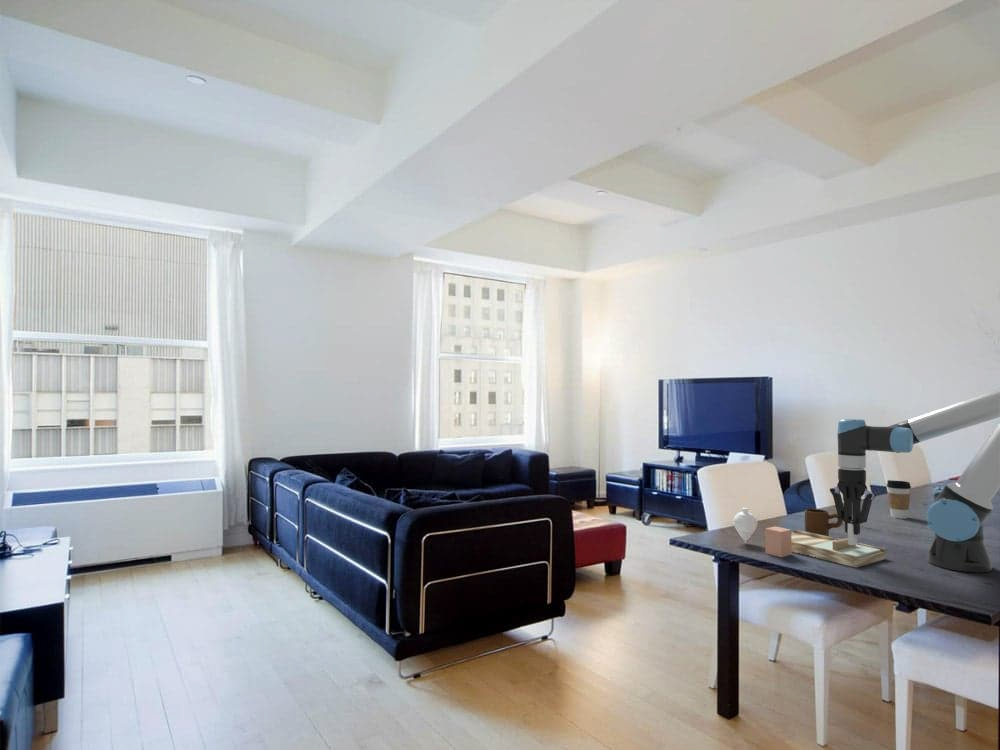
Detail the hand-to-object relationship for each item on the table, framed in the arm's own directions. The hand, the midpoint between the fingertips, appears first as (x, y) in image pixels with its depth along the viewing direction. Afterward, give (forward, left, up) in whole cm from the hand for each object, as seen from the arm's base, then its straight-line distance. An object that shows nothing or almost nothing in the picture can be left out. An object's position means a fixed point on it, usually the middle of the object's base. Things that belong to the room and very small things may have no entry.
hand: (852, 544), depth 184 cm
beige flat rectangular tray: (+10, 0, -5) cm, 11 cm away
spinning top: (+30, +12, -5) cm, 32 cm away
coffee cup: (+23, -78, -5) cm, 81 cm away
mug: (+20, -18, -5) cm, 27 cm away
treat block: (+16, +14, -5) cm, 22 cm away
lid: (+3, 0, -2) cm, 4 cm away
